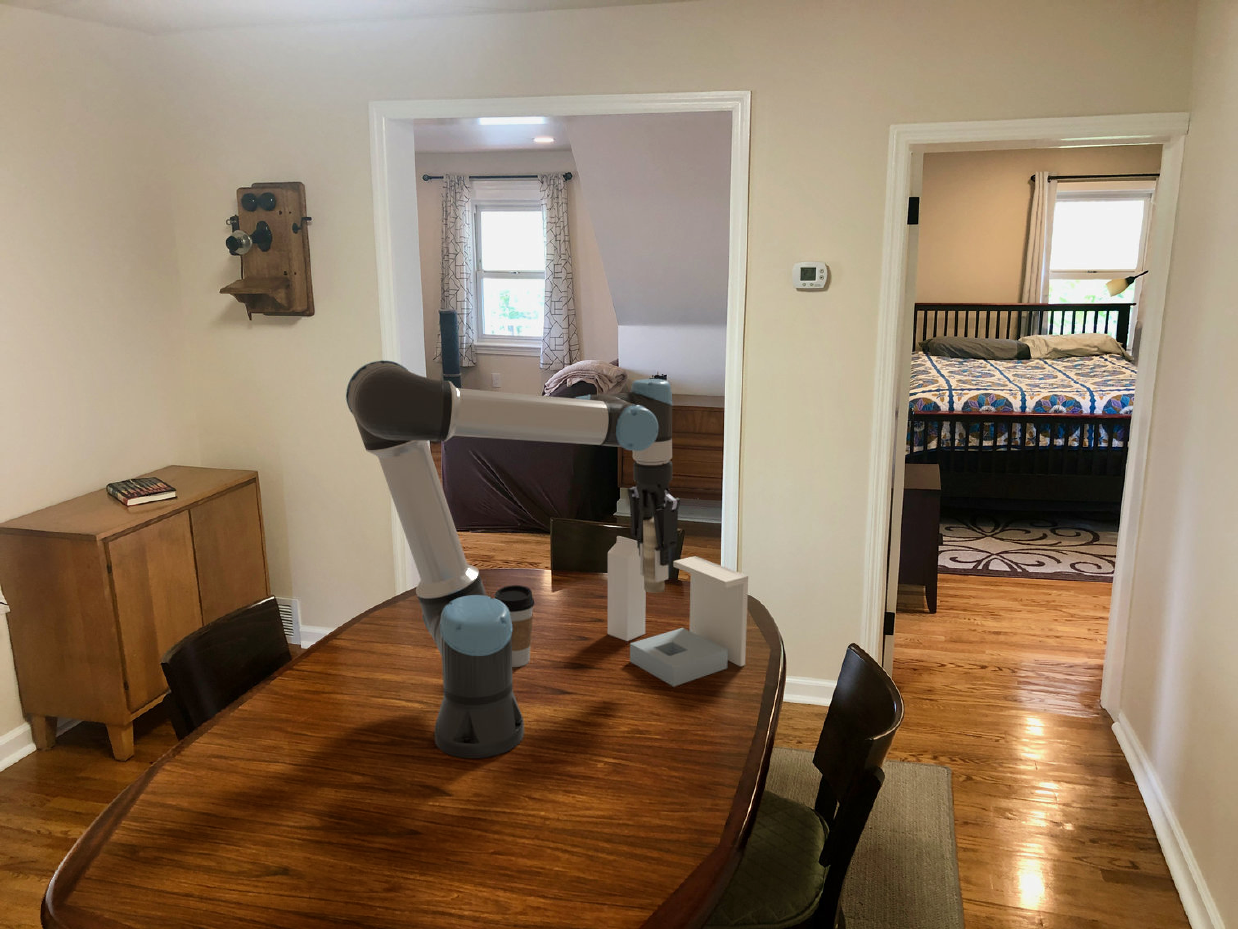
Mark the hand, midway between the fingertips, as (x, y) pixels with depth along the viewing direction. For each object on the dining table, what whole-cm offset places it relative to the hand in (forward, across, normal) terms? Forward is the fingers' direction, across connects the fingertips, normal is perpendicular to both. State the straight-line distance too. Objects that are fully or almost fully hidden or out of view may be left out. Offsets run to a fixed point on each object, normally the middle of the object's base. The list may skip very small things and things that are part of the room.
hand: (654, 576), depth 175 cm
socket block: (+20, -1, -5) cm, 20 cm away
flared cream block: (+20, -1, -13) cm, 24 cm away
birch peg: (+3, 0, 0) cm, 3 cm away
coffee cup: (+19, +20, +21) cm, 35 cm away
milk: (+20, +18, -6) cm, 27 cm away
